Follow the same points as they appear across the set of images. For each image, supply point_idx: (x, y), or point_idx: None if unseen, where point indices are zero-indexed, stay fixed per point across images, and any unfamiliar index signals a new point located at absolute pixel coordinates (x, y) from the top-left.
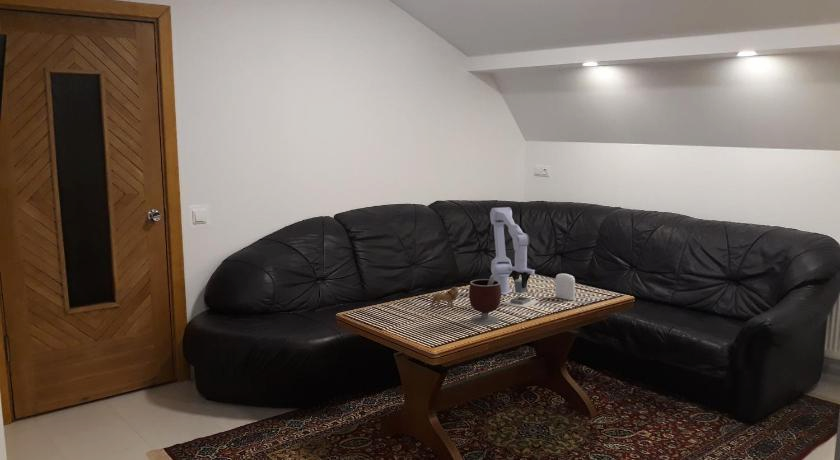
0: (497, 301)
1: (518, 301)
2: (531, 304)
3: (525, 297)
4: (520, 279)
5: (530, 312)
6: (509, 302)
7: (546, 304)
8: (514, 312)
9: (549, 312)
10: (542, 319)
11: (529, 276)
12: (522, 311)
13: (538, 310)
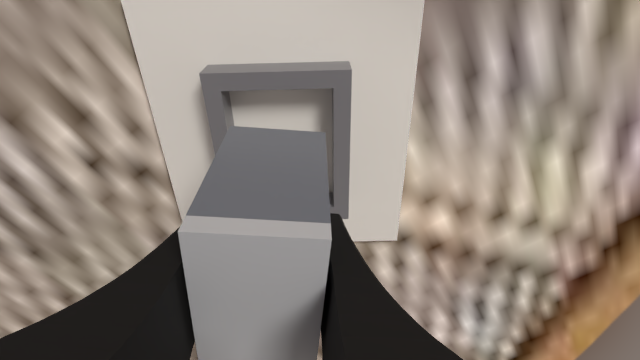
0: None
1: None
2: (406, 155)
3: (290, 74)
4: (238, 303)
5: (465, 295)
6: None
7: (525, 49)
8: None
9: (589, 241)
10: (566, 353)
11: (428, 342)
12: (411, 301)
13: (502, 240)
